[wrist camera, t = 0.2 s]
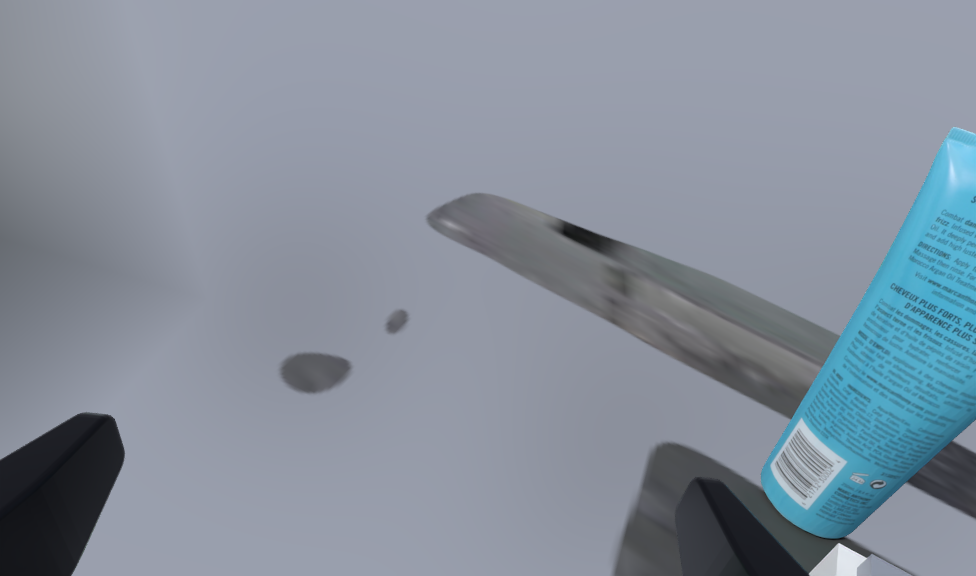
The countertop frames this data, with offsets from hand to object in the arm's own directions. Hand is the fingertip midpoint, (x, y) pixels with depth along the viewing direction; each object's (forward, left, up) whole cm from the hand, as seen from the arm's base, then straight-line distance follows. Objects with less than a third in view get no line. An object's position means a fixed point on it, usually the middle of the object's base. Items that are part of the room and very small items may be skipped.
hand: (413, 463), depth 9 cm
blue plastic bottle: (+12, -21, -17) cm, 29 cm away
